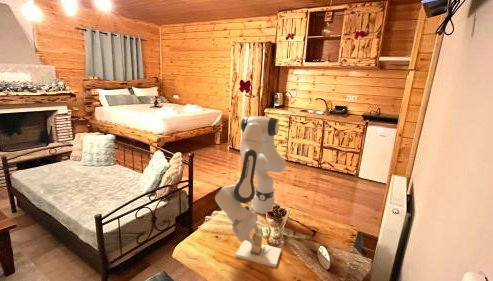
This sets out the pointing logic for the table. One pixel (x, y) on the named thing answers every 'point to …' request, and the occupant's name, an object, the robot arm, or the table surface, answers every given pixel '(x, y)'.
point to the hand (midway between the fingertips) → (256, 237)
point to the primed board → (266, 257)
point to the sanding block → (256, 244)
